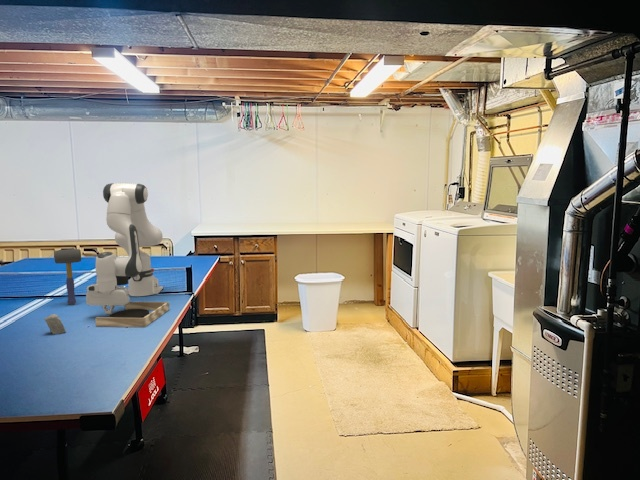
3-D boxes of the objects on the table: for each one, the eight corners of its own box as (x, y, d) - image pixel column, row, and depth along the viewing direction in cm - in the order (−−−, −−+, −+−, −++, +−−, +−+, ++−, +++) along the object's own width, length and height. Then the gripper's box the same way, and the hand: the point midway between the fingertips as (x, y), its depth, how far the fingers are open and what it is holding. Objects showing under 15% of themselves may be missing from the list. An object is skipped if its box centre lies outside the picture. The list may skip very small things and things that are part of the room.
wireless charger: (154, 312, 232) (154, 308, 231) (142, 323, 214) (142, 319, 214) (118, 313, 231) (118, 309, 231) (103, 324, 213) (103, 320, 213)
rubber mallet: (85, 301, 253) (80, 247, 249) (84, 304, 247) (80, 249, 243) (59, 304, 248) (54, 249, 244) (58, 307, 241) (53, 251, 237)
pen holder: (131, 282, 300) (130, 267, 298) (124, 285, 291) (123, 270, 289) (117, 282, 301) (116, 267, 299) (109, 285, 291) (108, 269, 290)
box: (125, 309, 237) (125, 301, 236) (169, 309, 235) (168, 302, 235) (95, 326, 209) (95, 317, 209) (144, 327, 208) (144, 318, 207)
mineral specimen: (59, 326, 207) (60, 310, 205) (67, 334, 202) (68, 317, 200) (41, 330, 202) (42, 313, 200) (49, 338, 196) (50, 321, 195)
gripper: (131, 284, 224) (132, 312, 225) (90, 284, 225) (92, 311, 227) (124, 287, 217) (126, 316, 219) (83, 287, 219) (85, 315, 221)
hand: (109, 314), depth 223 cm, fingers closed
